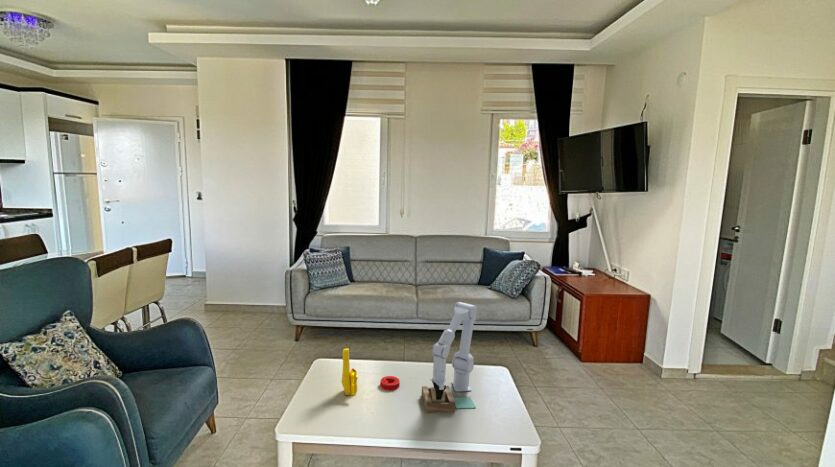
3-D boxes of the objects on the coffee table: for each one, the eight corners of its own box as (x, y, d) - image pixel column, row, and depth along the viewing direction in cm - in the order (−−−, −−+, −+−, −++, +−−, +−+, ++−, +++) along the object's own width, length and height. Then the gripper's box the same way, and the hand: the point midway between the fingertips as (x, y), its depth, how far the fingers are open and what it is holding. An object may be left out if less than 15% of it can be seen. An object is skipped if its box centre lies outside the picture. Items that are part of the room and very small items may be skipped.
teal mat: (452, 398, 201) (452, 397, 201) (470, 398, 202) (470, 397, 202) (456, 408, 192) (456, 408, 192) (475, 408, 193) (475, 407, 193)
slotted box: (421, 396, 202) (421, 386, 202) (447, 395, 204) (448, 385, 204) (426, 413, 188) (426, 402, 187) (454, 412, 189) (455, 401, 189)
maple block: (430, 397, 197) (431, 387, 197) (443, 397, 198) (443, 387, 197) (432, 401, 193) (432, 391, 193) (444, 401, 194) (445, 391, 193)
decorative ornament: (403, 386, 212) (403, 380, 211) (390, 392, 204) (390, 386, 204) (389, 379, 218) (390, 373, 218) (376, 385, 211) (376, 379, 210)
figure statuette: (357, 402, 194) (358, 356, 192) (340, 402, 193) (341, 357, 190) (358, 383, 212) (359, 341, 209) (342, 383, 211) (343, 342, 208)
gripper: (428, 362, 200) (427, 389, 202) (433, 376, 186) (432, 405, 188) (442, 362, 201) (441, 388, 203) (449, 376, 187) (447, 404, 189)
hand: (437, 396), depth 195 cm, fingers closed on maple block, 4 cm apart
